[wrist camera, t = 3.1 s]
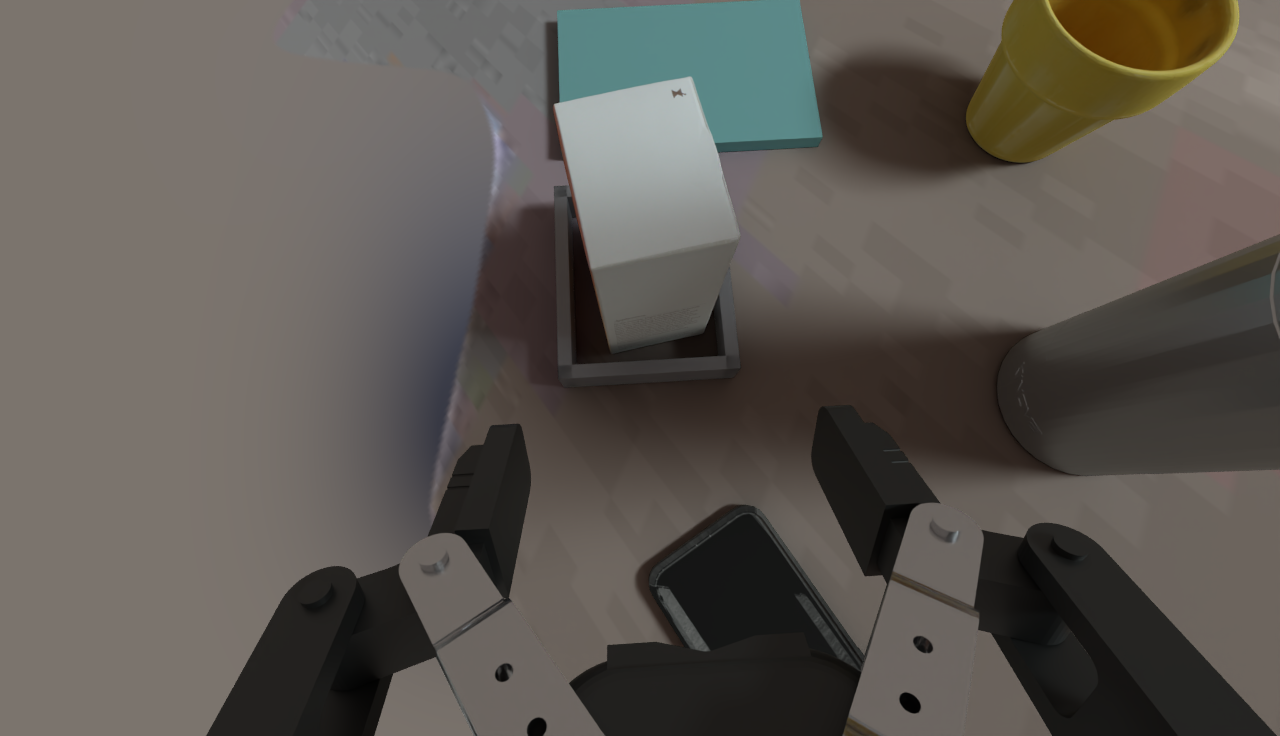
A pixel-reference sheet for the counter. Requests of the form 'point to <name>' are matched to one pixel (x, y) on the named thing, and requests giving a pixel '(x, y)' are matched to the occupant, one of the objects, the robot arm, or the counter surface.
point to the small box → (649, 209)
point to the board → (702, 64)
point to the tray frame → (630, 370)
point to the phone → (744, 589)
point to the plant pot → (1090, 67)
